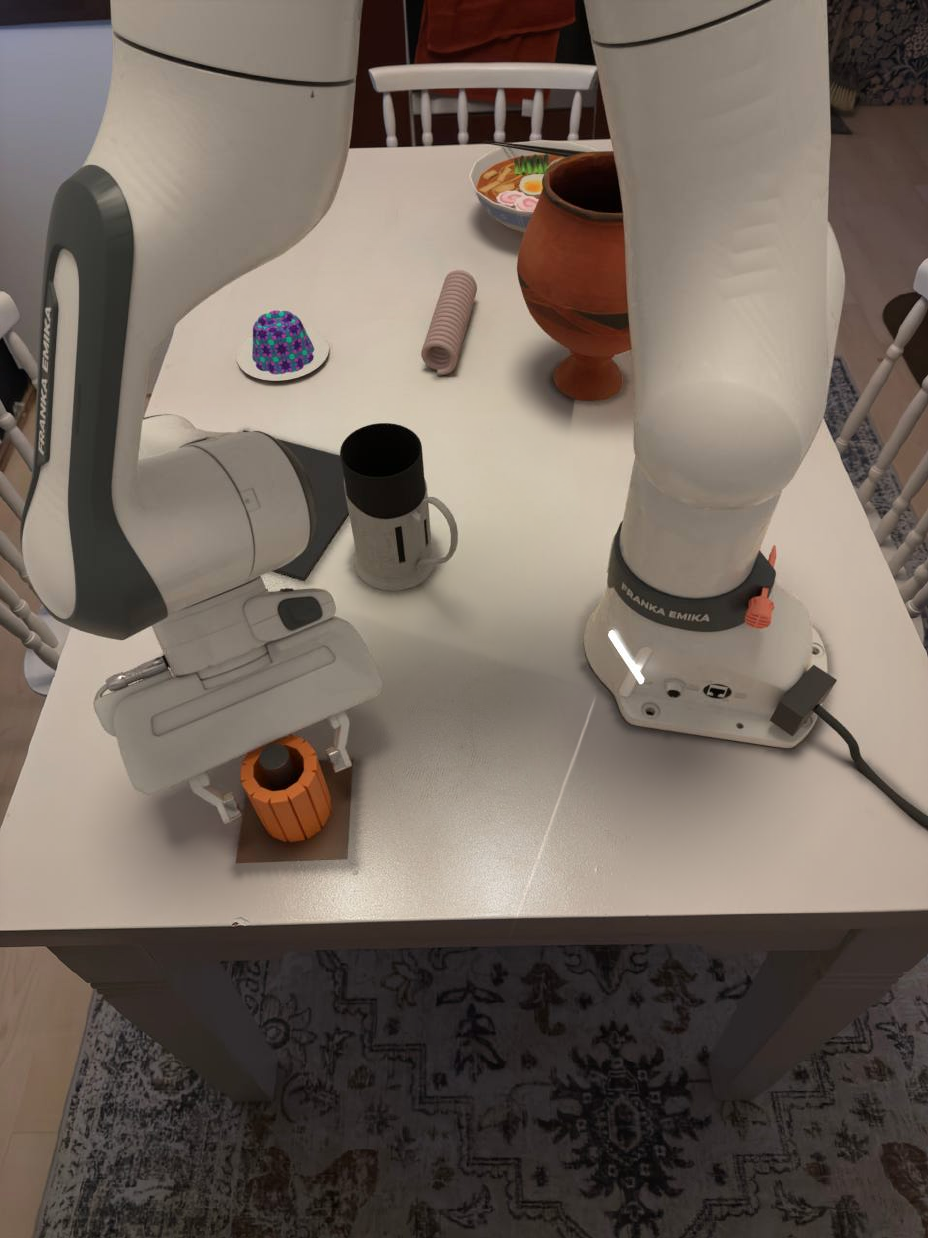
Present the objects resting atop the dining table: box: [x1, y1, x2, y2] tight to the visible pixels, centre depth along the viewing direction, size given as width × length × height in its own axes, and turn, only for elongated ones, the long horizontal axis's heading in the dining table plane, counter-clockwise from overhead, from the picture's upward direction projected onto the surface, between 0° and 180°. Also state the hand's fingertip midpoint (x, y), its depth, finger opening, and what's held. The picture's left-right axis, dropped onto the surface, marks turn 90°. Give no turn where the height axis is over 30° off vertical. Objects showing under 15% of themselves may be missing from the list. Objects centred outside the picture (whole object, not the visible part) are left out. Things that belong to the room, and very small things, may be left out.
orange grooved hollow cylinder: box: [240, 734, 331, 842], centre depth 67 cm, size 6×6×8 cm
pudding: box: [236, 310, 330, 382], centre depth 108 cm, size 12×12×5 cm
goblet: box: [516, 150, 632, 402], centre depth 95 cm, size 19×19×25 cm
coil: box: [420, 269, 478, 376], centre depth 110 cm, size 5×5×18 cm
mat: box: [242, 429, 349, 582], centre depth 93 cm, size 18×18×1 cm
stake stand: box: [235, 744, 354, 864], centre depth 66 cm, size 9×9×10 cm
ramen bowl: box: [468, 139, 600, 234], centre depth 126 cm, size 25×23×8 cm
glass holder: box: [339, 422, 459, 592], centre depth 81 cm, size 9×14×15 cm, turn 43°
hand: (289, 792), depth 66 cm, fingers open, 8 cm apart
